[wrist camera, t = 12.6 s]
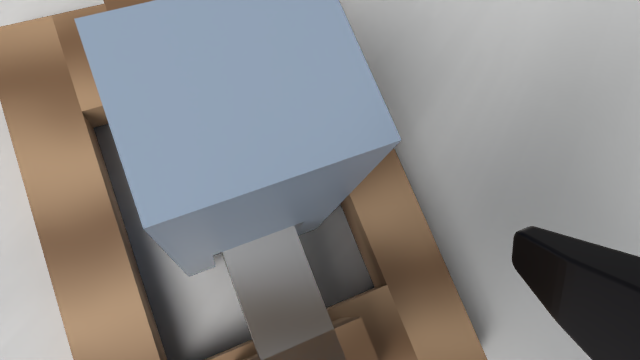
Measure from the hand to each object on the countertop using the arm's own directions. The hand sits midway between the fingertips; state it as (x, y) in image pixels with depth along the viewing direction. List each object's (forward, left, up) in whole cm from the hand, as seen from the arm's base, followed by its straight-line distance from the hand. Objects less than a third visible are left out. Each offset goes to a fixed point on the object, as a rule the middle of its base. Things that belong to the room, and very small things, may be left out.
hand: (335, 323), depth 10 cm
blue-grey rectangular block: (+6, -1, -12) cm, 13 cm away
